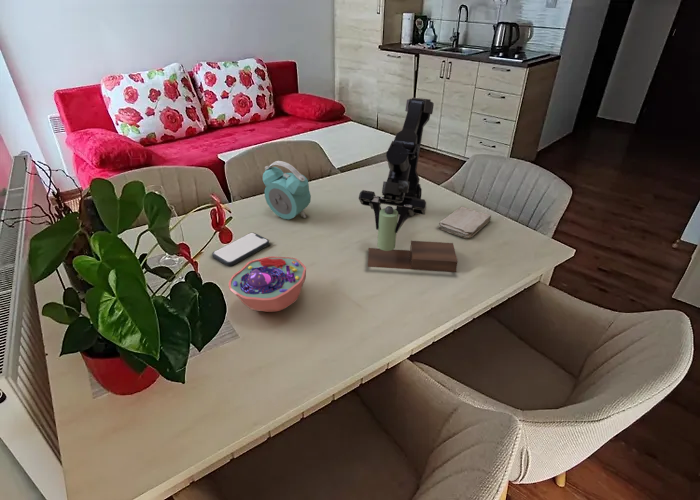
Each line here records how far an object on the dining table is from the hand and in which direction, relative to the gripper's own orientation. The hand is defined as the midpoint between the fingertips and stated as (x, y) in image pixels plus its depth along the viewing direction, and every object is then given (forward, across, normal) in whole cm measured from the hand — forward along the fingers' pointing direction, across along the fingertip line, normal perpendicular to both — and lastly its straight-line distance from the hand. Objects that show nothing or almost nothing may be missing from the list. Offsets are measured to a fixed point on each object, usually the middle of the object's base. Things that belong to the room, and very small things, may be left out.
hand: (386, 231), depth 121 cm
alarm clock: (-5, -38, +22) cm, 44 cm away
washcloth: (-15, +21, +31) cm, 40 cm away
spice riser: (+6, +7, +10) cm, 14 cm away
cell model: (+26, -24, -10) cm, 37 cm away
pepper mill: (+3, 0, +5) cm, 6 cm away
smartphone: (+13, -43, +3) cm, 45 cm away
